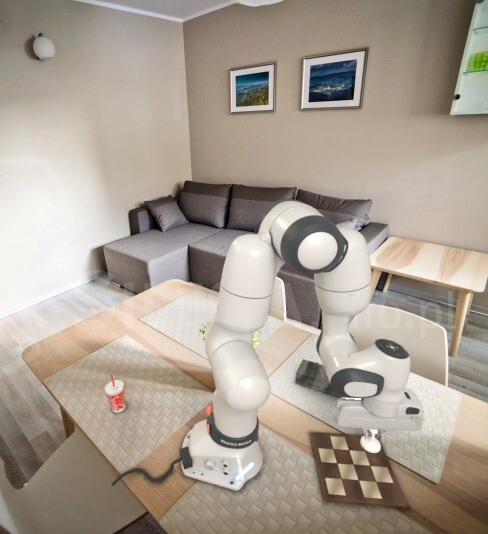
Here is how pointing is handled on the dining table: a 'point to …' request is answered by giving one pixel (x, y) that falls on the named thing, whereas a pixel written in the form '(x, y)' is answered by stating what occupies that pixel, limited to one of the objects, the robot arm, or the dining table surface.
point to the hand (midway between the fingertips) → (372, 436)
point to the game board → (355, 472)
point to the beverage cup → (116, 395)
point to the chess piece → (371, 442)
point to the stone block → (314, 377)
